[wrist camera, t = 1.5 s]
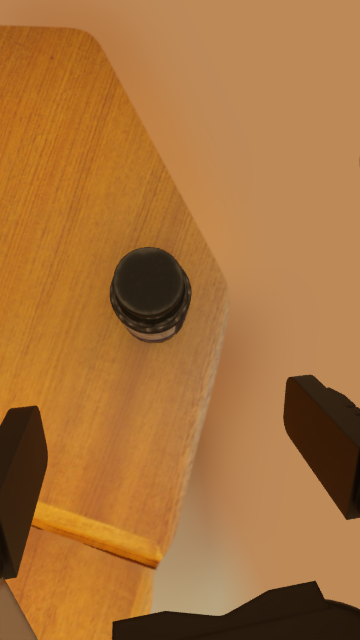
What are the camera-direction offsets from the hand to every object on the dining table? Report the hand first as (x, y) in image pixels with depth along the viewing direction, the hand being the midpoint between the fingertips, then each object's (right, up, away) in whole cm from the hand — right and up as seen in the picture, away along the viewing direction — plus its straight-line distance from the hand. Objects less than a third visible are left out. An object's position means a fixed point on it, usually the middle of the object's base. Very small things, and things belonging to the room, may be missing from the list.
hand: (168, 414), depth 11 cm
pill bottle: (-2, +4, +23) cm, 23 cm away
